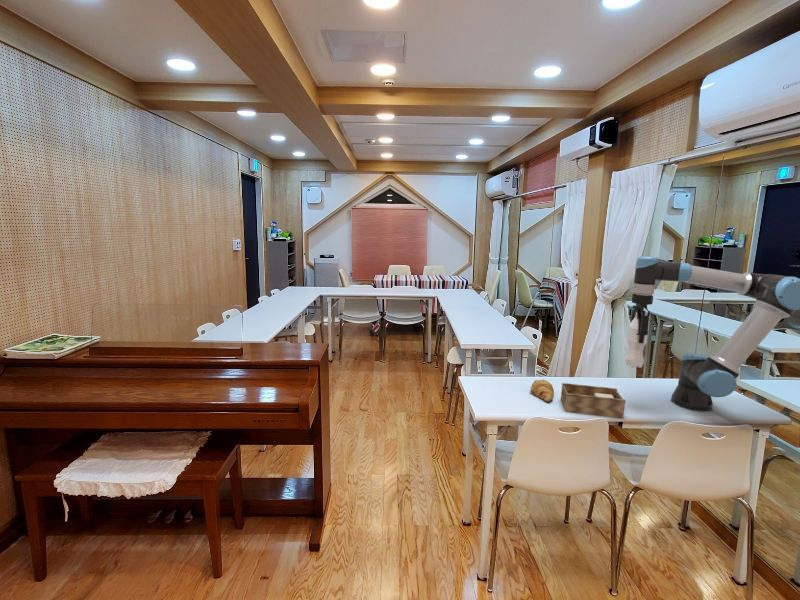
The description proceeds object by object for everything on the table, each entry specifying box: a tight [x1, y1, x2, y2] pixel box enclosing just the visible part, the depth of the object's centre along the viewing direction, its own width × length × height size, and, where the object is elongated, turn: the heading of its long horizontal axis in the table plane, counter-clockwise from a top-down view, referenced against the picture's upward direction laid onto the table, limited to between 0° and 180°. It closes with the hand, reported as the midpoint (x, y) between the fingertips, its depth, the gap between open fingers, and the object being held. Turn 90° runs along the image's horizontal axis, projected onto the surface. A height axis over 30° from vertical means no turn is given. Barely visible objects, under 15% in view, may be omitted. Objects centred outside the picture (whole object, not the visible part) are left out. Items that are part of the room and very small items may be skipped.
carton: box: [594, 393, 614, 398], centre depth 172 cm, size 7×10×5 cm
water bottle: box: [624, 312, 648, 369], centre depth 173 cm, size 7×7×25 cm
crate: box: [560, 382, 626, 420], centre depth 173 cm, size 22×13×9 cm, turn 76°
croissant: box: [530, 379, 555, 402], centre depth 190 cm, size 21×10×8 cm, turn 178°
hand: (636, 347), depth 173 cm, fingers closed on water bottle, 7 cm apart
